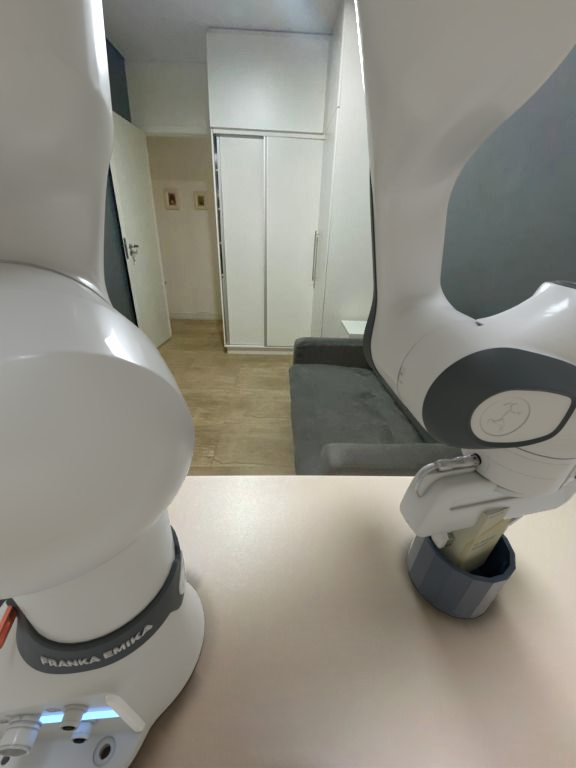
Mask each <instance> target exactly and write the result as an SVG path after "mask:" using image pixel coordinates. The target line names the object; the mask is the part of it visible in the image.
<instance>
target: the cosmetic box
mask: <svg viewBox="0 0 576 768" xmlns="http://www.w3.org/2000/svg"><path fill="white" fill-rule="evenodd" d="M509 508H510V507H507V508H501V509H495V510H489V511H484V512H482V514H481V516H480V518H479V520H478V521H477V523H476V525H474V526H473V527H469V528H464V529H459V530H455V531H452V532H449V533H451V534H452V536H453V537H454V540H453V542H452V543H451V546H447V547H443V548H438V547H437V546H436V544H435V543H434V541H433V540H432V538H431V541H432V543H433V544H434V546H435V547H436V548H437V550H438V551H439V553H440V554H442V555H443V556H444V557H445V558H446V559H447V560H449V561H450V562H451V563H452V564H453V565H454V566H456V567H458V568H460V569H462V570H464V571H466V572H468V573H469V572H471V571H473V570H475V569H477V568H478V567H480V566H482V565H483V564H484V563H485V561H486V559H487V558H488V556H489V555H490V553H491V551H492V550H493V548H494V547H495V545H496V543H497V542H498V540H499V538H500V537H501V535H502V533H503V532H504V530H505V528H506V527H507V525H508V523H509V522H510V520H511V519H512V518H510V519H506V520H504V519H503V518H504V516H505V515H506V513H507V512H508V510H509Z"/></svg>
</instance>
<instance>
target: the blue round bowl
mask: <svg viewBox="0 0 576 768" xmlns="http://www.w3.org/2000/svg"><path fill="white" fill-rule="evenodd" d="M516 563H517V561H516V553H515V550H514V548H513V547H512V544H511V543H510V540H509V538H508V537H507V536H506V535H505V533H504V534H502V535H501V537H500V538H499V540H498V542H497V543H496V545H495V547H494V548H493V550H492V551H491V553H490V555H489V556H488V558H487V559H486V561H485V563H484V564H483V565H482V566H480V567H478V568H477V569H475V570H473V571H471V572H469V573H468V572H466V571H464V570H462V569H460V568H458V567H456V566H454V565H453V564H452V563H451V562H450V561H449V560H447V559H446V558H445V557H444V556H443V555H442V554H440V553H439V551H438V550H437V548H436V547H435V546H434V544H433V543H432V541H431V536H427V537H419V536H417V535H416V534H415V533H414V536H413V538H412V541H411V543H410V546H409V549H408V552H407V556H406V568H407V572H408V575H409V577H410V580H411V582H412V584H413V585H414V586H415V588H416V589H417V591H418V592H419V593H420V595H421V596H422V597H423V598H424V599H425V600H426V601H427V602H428V603H429V604H430V605H432V606H433V607H435V608H436V609H437V610H439V611H440V612H442V613H445V614H446V615H449V616H451V617H455V618H458V619H474V618H478V617H480V616H481V615H482V614H484V613H486V611H487V609H488V608H489V607H490V605H491V604H492V602H493V601H494V600H495V599H496V597H497V596H498V595H499V593H500V591H501V590H502V589H503V588H504V586H505V585H506V583H507V582H508V580H509V579H511V576H512V575H513V574H514V573H515V571H516V569H517V565H516Z"/></svg>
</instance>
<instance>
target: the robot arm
mask: <svg viewBox="0 0 576 768" xmlns="http://www.w3.org/2000/svg"><path fill="white" fill-rule="evenodd" d="M354 7H355V15H356V16H355V17H356V23H357V34H358V46H359V56H360V65H361V74H362V84H363V85H362V86H363V93H364V94H363V95H364V105H365V116H366V134H367V135H366V136H367V151H368V162H369V164H368V165H369V173H368V174H369V176H368V178H369V179H368V180H369V211H370V212H369V214H370V235H371V259H372V279H373V285H372V286H373V292H372V301H371V305H370V310H369V313H368V316H367V319H366V323H365V327H364V331H363V336H362V351H363V355H364V358H365V361H366V362H367V364H368V366H369V367H370V368H371V370H372V371H374V372H375V373H376V374H377V375H378V376H379V377H380V378H381V379H382V381H384V382H385V383H386V384H387V386H389V388H390V389H391V390H392V392H393V393H394V394H395V395H396V396H397V398H398V400H399V401H400V402H401V403H402V404H403V405H404V406H405V407H406V408H407V409H408V411H409V412H410V414H412V417H414V418H415V420H416V421H417V422H418V423H419V424H420V426H421V427H422V428H423V429H424V430H425V431H426V432H427V433H428V434H429V435H430V436H431V437H432V438H433V439H434V440H435V441H437V442H438V443H440V444H443V445H445V446H448V447H452V448H456V449H460V451H461V454H462V455H460V456H455V457H453V458H448V457H447V458H440V459H436V460H435V461H434V462H430V463H427V464H426V465H424V466H422V467H421V468H420V469H419V470H418V471H417V472H416V473H415V475H414V477H413V478H412V480H411V481H410V483H409V485H408V487H407V489H406V491H405V493H404V494H403V496H402V499H401V501H400V504H399V511H400V514H401V516H402V518H403V520H404V522H406V524H407V526H408V527H409V528H410V530H411V531H412V532H413V534H414V535H415V534H416V535H417V536H419V537H427V536H431V538H432V540H433V541H434V543H435V544H436V546H437V547H438V548H443V547H447V546H451V543H452V542H453V540H454V537H453V536H452V534H451V533H449V532H452V531H455V530H459V529H464V528H469V527H473V526H474V525H476V523H477V521H478V520H479V518H480V516H481V514H482V512H484V511H489V510H495V509H501V508H507V507H510V508H509V510H508V512H507V513H506V515H505V516H504V518H503V519H504V520H506V519H510V518H512V519H511V520H510V522H509V523H508V525H507V527H506V528H505V530H504V532H503V533H502V534H504V535H505V533H506V531H507V529H508V528H509V527H511V526H512V525H513V524H515V523H516V522H518V521H519V520H521V519H522V518H523V517H524V516H528V515H533V514H537V513H543V512H548V511H552V510H556V509H559V508H560V507H561V506H563V505H565V504H567V502H569V501H570V500H571V499H572V498H573V497H574V496H575V494H576V281H571V280H562V279H560V280H559V279H557V280H549V281H544V282H542V284H540V285H539V287H537V289H536V290H535V292H534V293H533V295H532V296H530V297H529V298H527V299H526V300H524V301H522V302H520V303H519V304H517V305H514V306H513V307H511V308H509V309H506V310H504V311H502V312H499V313H496V314H493V315H490V316H486V317H481V318H477V319H475V318H473V317H471V316H469V315H467V314H465V313H462V312H461V311H459V310H458V309H456V308H455V307H454V306H453V305H452V304H451V303H450V302H449V300H448V299H447V297H446V296H445V293H444V292H443V289H442V284H441V278H442V277H441V276H442V266H443V256H444V247H445V246H444V245H445V237H446V226H447V215H448V206H449V202H450V198H451V195H452V191H453V189H454V186H455V184H456V182H457V181H458V180H457V179H458V178H459V176H460V174H461V172H462V171H463V169H464V168H465V166H466V165H467V163H468V162H469V160H471V158H472V156H473V155H474V154H475V153H476V152H477V151H478V149H479V148H480V147H481V146H482V145H483V144H484V142H486V140H487V139H488V138H489V137H490V136H491V135H493V133H495V131H496V130H497V129H499V128H500V126H502V124H504V123H505V122H506V121H507V120H508V119H509V118H510V117H511V116H512V115H514V114H515V113H516V112H517V111H518V110H519V109H520V108H521V107H523V106H524V105H525V104H527V102H528V101H529V100H531V98H532V97H533V96H534V95H535V94H536V93H537V92H538V91H539V90H540V88H541V87H542V86H544V84H545V83H546V82H547V81H548V79H549V78H551V76H552V75H553V74H554V72H555V71H556V70H557V69H558V68H559V66H560V65H561V64H562V63H563V62H564V60H565V59H566V58H567V57H568V56H569V54H570V53H571V51H572V50H573V48H574V47H575V46H576V0H354ZM104 20H105V19H104V11H103V0H0V768H129V767H130V765H132V763H133V761H134V759H135V758H136V756H137V755H138V753H139V751H140V750H141V747H142V746H143V744H144V741H145V739H146V738H147V735H148V734H149V732H150V729H151V728H152V727H153V725H154V724H155V722H156V721H157V720H158V718H160V716H161V715H162V714H163V713H164V712H165V711H166V710H167V709H168V707H170V705H171V704H172V703H173V702H174V701H175V699H177V697H178V696H179V695H180V693H181V692H182V690H183V689H184V687H185V686H186V685H187V683H188V681H189V680H190V678H191V676H192V674H193V672H194V670H195V667H196V666H197V663H198V660H199V658H200V655H201V652H202V648H203V644H204V638H205V629H206V621H205V620H206V618H205V611H204V607H203V603H202V600H201V598H200V596H199V594H198V592H197V591H196V589H195V588H194V587H193V585H191V584H190V582H188V581H187V569H186V564H185V558H184V554H183V550H182V549H181V544H180V541H179V538H178V534H177V532H176V530H175V529H174V527H173V525H172V524H171V521H170V517H169V511H168V510H169V509H168V508H169V507H170V505H172V503H173V502H174V499H175V497H176V496H177V495H178V493H179V491H180V489H181V488H182V486H183V484H184V482H185V480H186V478H187V476H188V473H189V470H190V468H191V465H192V463H193V458H194V454H195V446H196V433H195V424H194V419H193V416H192V413H191V410H190V408H189V405H188V404H187V402H186V399H185V398H184V396H183V393H182V390H180V387H179V385H178V383H177V381H176V379H175V377H174V375H173V374H172V372H171V370H170V368H169V366H168V365H167V363H166V361H165V359H164V357H163V356H162V355H161V353H160V351H159V350H158V348H157V346H156V345H155V344H154V342H153V341H152V340H151V339H150V337H148V335H147V334H146V333H145V332H144V331H142V330H141V328H139V327H138V326H137V325H136V324H135V323H134V322H132V321H131V320H130V319H129V318H127V317H126V316H125V315H123V314H122V313H121V312H119V311H118V310H117V309H116V308H114V306H113V304H112V302H111V299H110V298H109V294H108V289H107V285H106V280H105V261H104V260H105V257H104V256H105V223H106V222H105V221H106V219H105V218H106V201H107V200H106V198H107V188H108V187H107V185H108V175H109V170H110V163H111V160H112V154H113V150H114V143H115V122H114V114H113V105H112V95H111V84H110V73H109V63H108V53H107V42H106V32H105V31H106V30H105V22H104ZM108 747H110V751H109V753H108V755H107V756H106V757H105V758H102V755H103V752H104V751H105V750H106V748H108Z"/></svg>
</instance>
